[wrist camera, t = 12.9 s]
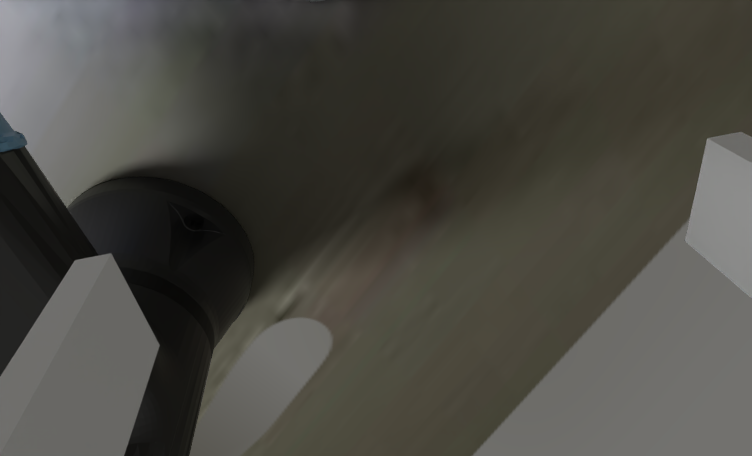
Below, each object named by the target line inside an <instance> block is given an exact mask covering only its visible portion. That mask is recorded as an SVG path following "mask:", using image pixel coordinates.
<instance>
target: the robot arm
mask: <svg viewBox="0 0 752 456" xmlns="http://www.w3.org/2000/svg"><path fill="white" fill-rule="evenodd" d="M25 145H27V141H26V139H25V137H24V135H23V134H22V133H19V132H16V131H14V130H13V129H12V128H11V126H10V125H9V124H8V122H7V121H6V120H5V118H4V117H3V116H2V114H1V113H0V456H189V454H190V450H191V445H192V440H193V437H194V432H195V428H196V424H197V419H198V415H199V411H200V406H201V402H202V398H203V393H204V389H205V385H206V380H207V376H208V372H209V367H210V363H211V358H212V354H213V350H214V348H215V347H216V345H217V344H218V343H219V341H220V340H221V338H222V337H223V336H224V334H225V333H226V332H227V330H228V329H229V327H230V326H231V324H232V323H233V322H234V321H235V320H236V319H237V318H238V316H239V315H240V314H241V312H242V310H243V309H244V307H245V305H246V302H247V300H248V297H249V294H250V290H251V284H252V279H253V273H254V258H253V252H252V248H251V245H250V242H249V240H248V238H247V236H246V234H245V232H244V230H243V229H242V227H241V226H240V224H239V223H238V222H237V220H236V219H235V218H234V217H233V216H232V215H231V214H230V213H229V212H228V211H227V210H226V209H225V208H224V207H223V206H221V205H220V204H219V203H218V202H216V201H215V200H213V199H212V198H210V197H209V196H207V195H205V194H204V193H202V192H200V191H198V190H196V189H193V188H191V187H189V186H186V185H183V184H180V183H177V182H173V181H169V180H165V179H159V178H150V177H130V178H122V179H116V180H112V181H108V182H105V183H102V184H99V185H97V186H95V187H93V188H91V189H89V190H87V191H86V192H84V193H83V194H81V195H80V196H78V197H77V198H76V199H75V200H74V201H73V202H72V203H71V204H70V205H69V206H68V208H66V206H65V205H64V203H63V202H62V200H61V199H60V197H59V196H58V194H57V193H56V192H55V190H54V189H53V187H52V186H51V184H50V183H49V181H48V180H47V178H46V177H45V175H44V174H43V172H42V171H41V170H40V168H39V167H38V165H37V164H36V162H35V161H34V159H33V158H32V156H31V155H30V153H29V152H28V150H27V149H26V148H25ZM685 241H686V242H687V243H688V244H689V245H690V246H691V247H693V248H694V249H695V250H696V251H697V252H698V253H699V254H701V255H702V256H703V257H704V258H705V259H707V260H708V261H709V262H710V263H711V264H712V265H714V266H715V267H716V268H717V269H718V270H719V271H720V272H722V273H723V274H724V275H725V276H726V277H727V278H729V279H730V280H731V281H732V282H733V283H735V284H736V285H737V286H738V287H739V288H740V289H741V290H743V291H744V292H745V293H746V294H747V295H749V296H750V297H751V298H752V137H750V136H748V135H746V134H744V133H742V132H738V133H732V134H727V135H722V136H717V137H712V138H707V143H706V147H705V152H704V156H703V161H702V165H701V170H700V175H699V179H698V184H697V188H696V193H695V197H694V202H693V207H692V211H691V216H690V220H689V225H688V229H687V235H686V239H685Z"/></svg>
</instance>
